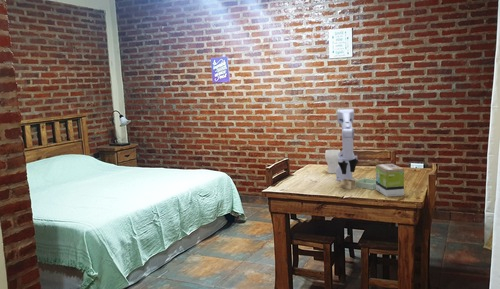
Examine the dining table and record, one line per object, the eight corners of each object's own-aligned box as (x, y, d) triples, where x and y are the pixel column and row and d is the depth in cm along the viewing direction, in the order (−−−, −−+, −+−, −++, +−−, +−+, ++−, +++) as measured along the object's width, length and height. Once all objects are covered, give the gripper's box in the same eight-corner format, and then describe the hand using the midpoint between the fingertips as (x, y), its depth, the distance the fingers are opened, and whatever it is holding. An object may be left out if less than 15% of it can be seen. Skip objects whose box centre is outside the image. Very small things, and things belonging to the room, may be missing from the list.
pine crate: (340, 187, 248) (340, 180, 247) (346, 186, 251) (346, 178, 250) (350, 189, 243) (350, 181, 242) (356, 188, 246) (356, 180, 245)
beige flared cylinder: (343, 171, 293) (343, 149, 291) (337, 174, 285) (337, 152, 283) (328, 170, 299) (328, 149, 297) (322, 173, 290) (322, 151, 288)
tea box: (375, 190, 239) (375, 164, 238) (392, 189, 240) (392, 163, 238) (386, 197, 225) (386, 169, 223) (404, 195, 225) (404, 168, 224)
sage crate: (353, 186, 251) (353, 181, 250) (364, 182, 258) (364, 178, 257) (372, 189, 241) (372, 184, 240) (384, 186, 248) (384, 181, 247)
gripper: (345, 151, 236) (345, 176, 238) (361, 148, 245) (361, 172, 247) (335, 150, 242) (335, 174, 243) (351, 147, 251) (351, 170, 253)
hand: (348, 173), depth 246 cm, fingers open, 7 cm apart
